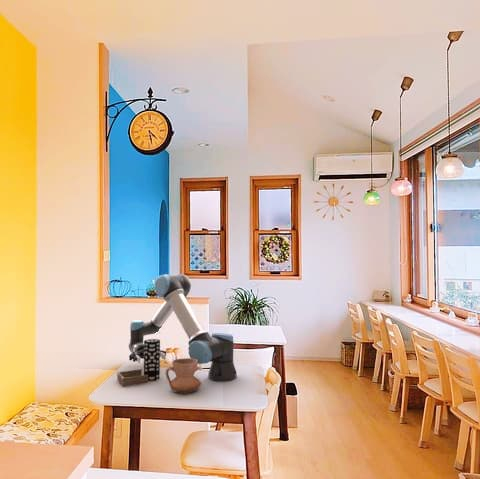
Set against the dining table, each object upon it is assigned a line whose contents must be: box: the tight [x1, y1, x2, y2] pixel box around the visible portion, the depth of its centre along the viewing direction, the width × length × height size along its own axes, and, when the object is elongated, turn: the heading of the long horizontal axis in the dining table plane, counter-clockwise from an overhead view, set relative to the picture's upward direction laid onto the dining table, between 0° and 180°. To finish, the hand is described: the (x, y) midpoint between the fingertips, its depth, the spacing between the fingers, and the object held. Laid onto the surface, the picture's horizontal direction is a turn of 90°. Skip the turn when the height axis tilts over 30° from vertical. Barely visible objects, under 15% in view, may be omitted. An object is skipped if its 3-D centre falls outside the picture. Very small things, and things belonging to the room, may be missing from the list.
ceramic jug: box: [165, 357, 203, 394], centre depth 194 cm, size 18×14×14 cm
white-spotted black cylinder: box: [143, 338, 161, 382], centre depth 212 cm, size 8×8×20 cm
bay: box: [116, 368, 149, 388], centre depth 208 cm, size 13×13×4 cm
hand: (152, 358), depth 211 cm, fingers open, 13 cm apart
